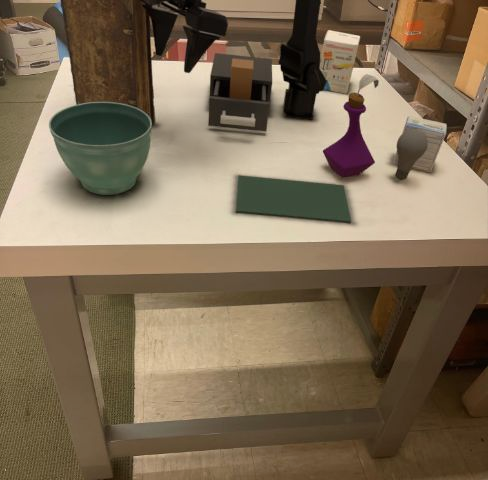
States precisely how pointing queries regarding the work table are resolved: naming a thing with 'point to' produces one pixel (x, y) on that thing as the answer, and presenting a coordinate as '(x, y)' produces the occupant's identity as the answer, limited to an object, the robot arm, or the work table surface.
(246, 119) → the drawer
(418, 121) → the medicine box
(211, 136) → the work table surface
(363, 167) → the perfume bottle
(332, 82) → the ink box
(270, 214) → the front mat
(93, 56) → the book
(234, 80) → the box
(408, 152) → the light bulb
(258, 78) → the dark grey box
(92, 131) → the flower pot
